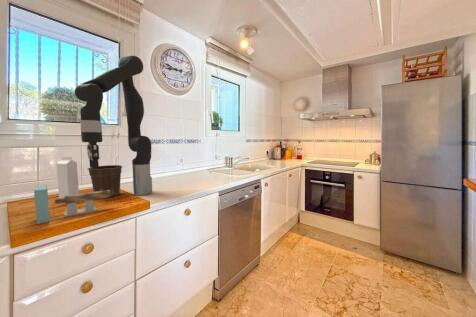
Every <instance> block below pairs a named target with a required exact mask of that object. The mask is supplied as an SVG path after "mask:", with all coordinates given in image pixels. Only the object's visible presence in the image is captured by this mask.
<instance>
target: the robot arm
mask: <svg viewBox="0 0 476 317" xmlns="http://www.w3.org/2000/svg"><path fill="white" fill-rule="evenodd" d="M143 71H144V63H143V60H142V59H141V58H140V57H138V56H137V55H129V56H122V57H120V58H119V59H118V62H117V67H115V68H112V69H110V70H106V71H105V72H102V73H101V74H100V75H97V76H96V77H95V78H92V79H90V80H87V81H85V82H82V83H79V84H78V85H76V87H75V88H74V95H75V97H76V98H77V99H78V100H79V101H82V102H86V103H85V105H84V106H82V107H81V108H80V110H79V112H80V114H79V116H80V136H81V142H82V143H88V144H86V151H87V158H88V160H89V168H90V167H92V169H99V166H100V164H99V160H100V158H101V156H100V151H99V150H100V147H99V144H97V143H102V142H103V128H102V122H101V110H102V105H103V101H104V93H107V92H110V90H112V89H114V88H115V87H116V86H118V85H120V84H121V85H122V92H123V99H124V108H125V115H126V122H127V123H126V125H127V142H128V144H127V145H128V147H129V149H130V150H131V151H132V152H136V156H135V157H134V158H133V159H132V160H131V163H132V164H131V165H132V187H133V190H132V191H133V195H134V196H145V195H149V194H152V193H153V176H151V159H152V141H151V139H150V137H148V136H146V135H142V134H141V133H142V132H141V125H142V122H143V118H144V115H145V107H144V101H143V98H142V96H141V94H140V93H139V91H138V89H137V88H136V86H135V84H134V78H133V76H136V75H140V74H142V72H143Z"/></svg>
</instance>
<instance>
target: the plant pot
mask: <svg viewBox="0 0 476 317" xmlns="http://www.w3.org/2000/svg"><path fill="white" fill-rule="evenodd" d="M122 168H123V166H122V165H118V164H115V165H113V164H112V165H110V164H108V165H99V169H92V167H90V166H89V167H88V168H87V170H88V173H89V176H90V180H91V184H92V190H93V191H92V192H97V191H104V190H110V193H111V197H116V196H119V195H120V194H121V179H122V178H121V177H122V176H121V175H122ZM111 197H110V198H111Z"/></svg>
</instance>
